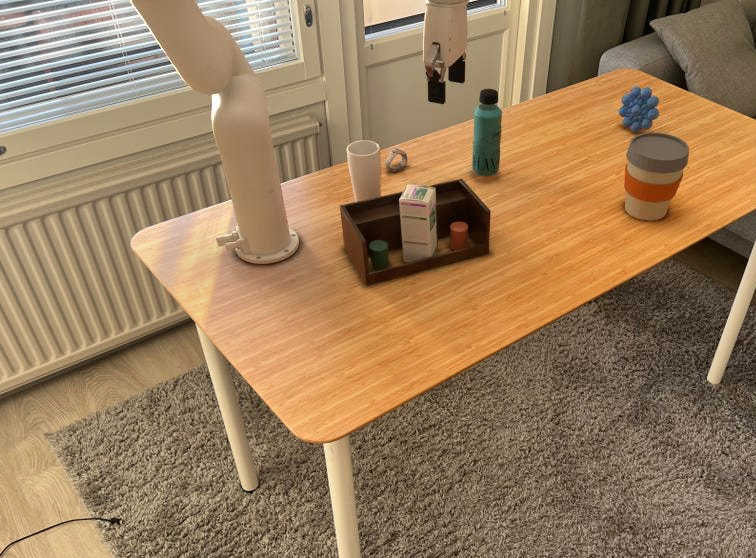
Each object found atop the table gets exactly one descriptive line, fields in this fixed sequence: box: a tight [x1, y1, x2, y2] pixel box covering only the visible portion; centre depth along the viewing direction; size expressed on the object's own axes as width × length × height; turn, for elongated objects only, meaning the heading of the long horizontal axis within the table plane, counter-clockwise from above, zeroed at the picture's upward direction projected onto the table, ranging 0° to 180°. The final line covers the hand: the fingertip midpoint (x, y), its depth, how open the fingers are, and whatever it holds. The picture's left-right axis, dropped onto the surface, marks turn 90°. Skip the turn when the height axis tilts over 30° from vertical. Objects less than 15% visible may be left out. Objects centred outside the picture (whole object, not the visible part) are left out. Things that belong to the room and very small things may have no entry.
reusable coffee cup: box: [623, 131, 690, 221], centre depth 150 cm, size 13×13×15 cm
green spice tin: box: [369, 240, 390, 272], centre depth 137 cm, size 4×4×5 cm
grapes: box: [618, 86, 660, 133], centre depth 178 cm, size 12×7×12 cm, turn 42°
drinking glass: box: [346, 139, 382, 202], centre depth 148 cm, size 7×7×15 cm
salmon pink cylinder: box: [449, 222, 469, 251], centre depth 143 cm, size 4×4×5 cm
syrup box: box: [399, 183, 439, 263], centre depth 137 cm, size 6×6×14 cm
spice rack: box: [339, 178, 492, 286], centre depth 139 cm, size 26×13×10 cm, turn 115°
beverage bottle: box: [471, 88, 503, 177], centre depth 158 cm, size 6×7×20 cm
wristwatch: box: [384, 147, 408, 173], centre depth 165 cm, size 4×6×5 cm, turn 140°
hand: (446, 91), depth 130 cm, fingers open, 9 cm apart
